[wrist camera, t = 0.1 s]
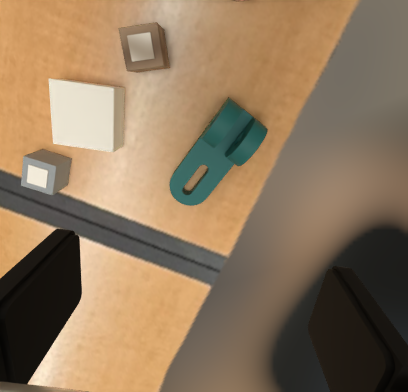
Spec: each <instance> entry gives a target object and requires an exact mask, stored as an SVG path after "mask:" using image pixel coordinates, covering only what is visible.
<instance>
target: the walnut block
mask: <svg viewBox="0 0 408 392" xmlns="http://www.w3.org/2000/svg"><path fill="white" fill-rule="evenodd" d="M118 29H119V34H120V39H121V44H122V49H123V54H124V59H125V64H126V69H127V71H130V72H144V71H151V70H159V69H166V68H170V67H169V60H168V53H167V47H166V40H165V33H164V29H163V28H162V27H161V26H160V25H159V24H158V23H157V22H156V23H149V24H143V25H136V26H130V27H123V28H118Z"/></svg>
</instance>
